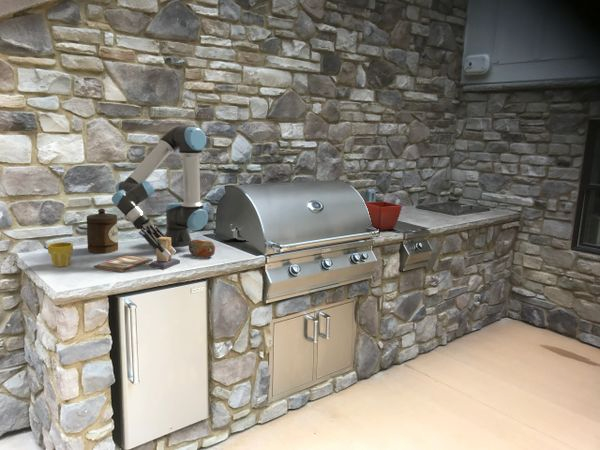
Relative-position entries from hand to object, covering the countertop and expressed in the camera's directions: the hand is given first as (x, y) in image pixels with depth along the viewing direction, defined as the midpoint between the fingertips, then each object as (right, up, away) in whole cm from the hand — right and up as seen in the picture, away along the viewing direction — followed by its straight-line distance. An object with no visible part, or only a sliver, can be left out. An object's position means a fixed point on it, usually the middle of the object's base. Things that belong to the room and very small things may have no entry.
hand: (171, 254), depth 232 cm
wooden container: (-42, +1, +24) cm, 49 cm away
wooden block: (-4, -3, +1) cm, 5 cm away
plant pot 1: (-50, -5, -4) cm, 50 cm away
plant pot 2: (+116, +12, +105) cm, 158 cm away
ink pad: (-4, -5, +2) cm, 6 cm away
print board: (-23, -5, 0) cm, 23 cm away
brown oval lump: (+11, -2, +20) cm, 22 cm away
